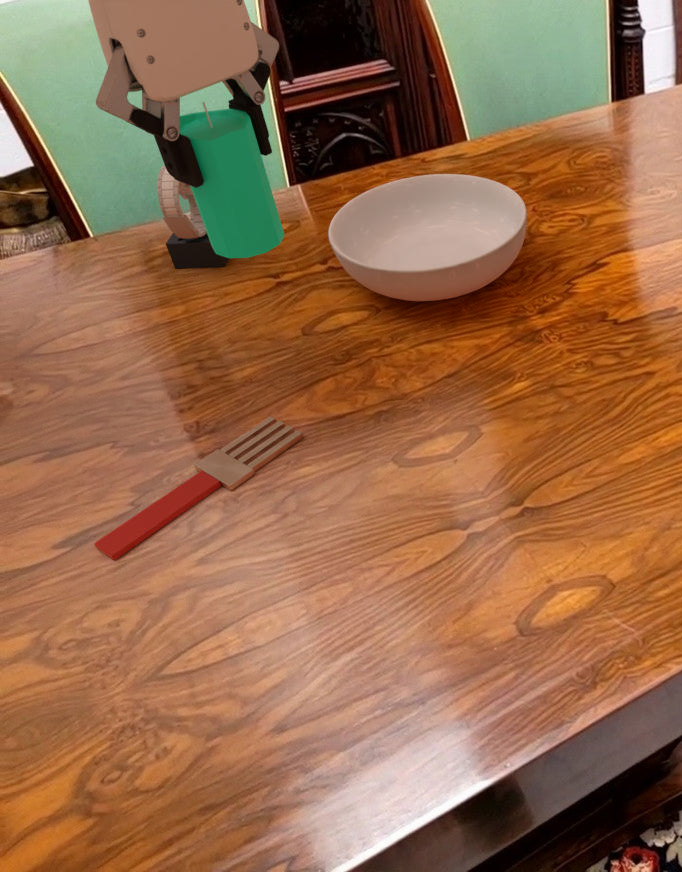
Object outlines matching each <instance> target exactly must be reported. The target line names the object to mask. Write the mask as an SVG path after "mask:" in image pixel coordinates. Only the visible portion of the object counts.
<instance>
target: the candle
mask: <svg viewBox="0 0 682 872" xmlns="http://www.w3.org/2000/svg"><path fill="white" fill-rule="evenodd" d="M202 105H203V110H204V111H197V112H190V113H186V114H182V115H181V114H180V134H181V135H184V136H187V137H188V138H189V139H190V141H191V144H192V147H193V150H194V153H195V156H196V158H197V161H198V164H199V167H200V170H201V173H202V176H203V179H204V183H203V185H202V186H200V187H197V188H195V187H193V186H190V187H191V190H192V192H193V195H194V198H195V201H196V204H197V207H198V209H199V212H200V215H201V218H202V221H203V223H204V226H205V229H206V232H207V235H208V237H209V240H210V243H211V246H212V248H213V250H214V251H215V253H216V254H217V255H221V256H224V257H227V258H229V259H249V258H252V257H256V256H260V255H263V254H266V253H269V252H270V251H272V250H273V249H275V248H276V247H278V246H280V245H281V244H282V242H283V240H284V238H285V236H286V234H285V232H284V228H283V224H282V220H281V218H280V215H279V211H278V208H277V207H278V206H277V203H276V200H275V198H274V195H273V190H272V187H271V184H270V180H269V177H268V174H267V170H266V166H265V164H264V160H263V157H262V155H261V153H260V150H259V146H258V143H257V140H256V136H255V133H254V130H253V126H252V123H251V119H250V116H249V115H248V114H247V113H246V112H244V111H240V110H236V109H229V108H224V109H216V110H208V109H207V106H206V102H205V101H202Z"/></svg>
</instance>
